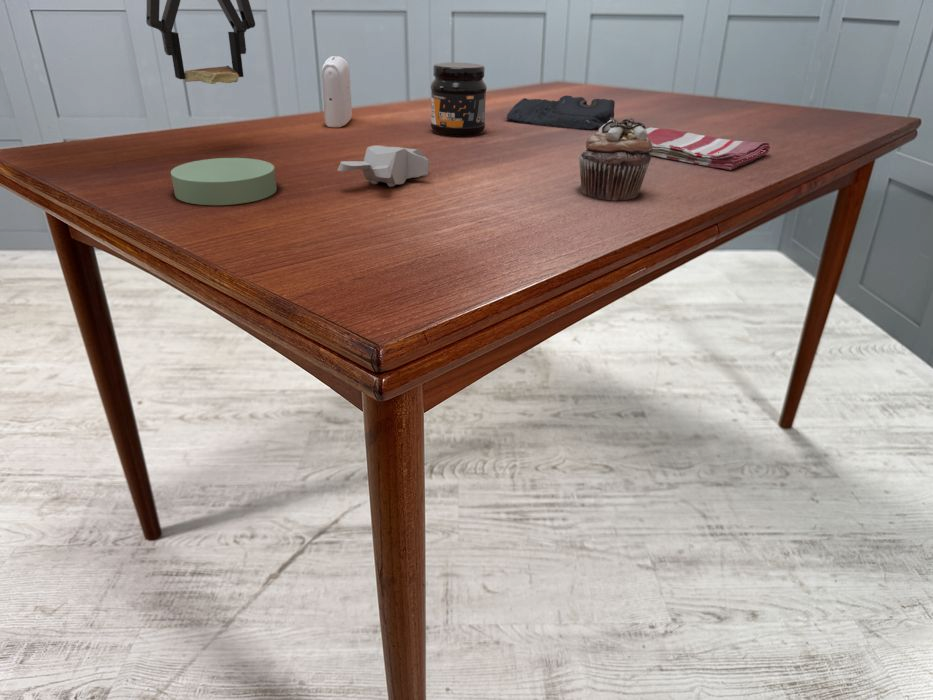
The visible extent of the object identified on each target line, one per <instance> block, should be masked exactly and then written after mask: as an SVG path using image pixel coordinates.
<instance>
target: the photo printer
mask: <svg viewBox="0 0 933 700" xmlns="http://www.w3.org/2000/svg"><path fill="white" fill-rule="evenodd" d="M320 74H321V86H322V88H321V89H322V101H323V116H324V125H325V126H327V127H328V128H341V127H344V126H346V125H347V124H348V123H349V122H350V121H351V120H352V118H353V108H352V107H353V106H352V88H351V87H352V86H351V71H350V65H349V63H348V61H347V60H346V59H345V58H343V57H342V56H341V55H337V56H336V55H331V56H330V57H328V58H326V60H325V61H324V63H323V65H322V67H321V73H320Z"/></svg>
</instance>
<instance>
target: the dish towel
mask: <svg viewBox="0 0 933 700" xmlns="http://www.w3.org/2000/svg"><path fill="white" fill-rule="evenodd" d="M645 130H646V131H647V138H648V139H649V140H650V142H651V144H652V150H651V151H650V152H649V153H650V155H651V157H658V158H661V159H667V160H672V161H677V162H681V163H682V162H683V163H688V164H691V165H692V164H693V165H698V166H699V165H700V166H705V167H710V168H715V169H722V170H724V171H732V170H734V169H737V168H738V167H741V166H743V165H746V164H749V163H751V162H753V161H755V160H757V159H759V158H762V157H763V156H766V155H767V154H769V152H770V148H771V146H770V143H769V142H768V141H761V142H759V141H758V142H756V141H747V140H746V141H745V140H734V139H728V138H727V139H726V138H719V137H715V136H712V135H711V136H710V135H703V134H697V133H692V132H689V131H683V130H676V129H671V128H661V127H659V128H657V127H651V126H650V127H649V126H648V127H646V128H645ZM768 149H769V150H768ZM761 150H766V151H765V152H763V151H761ZM718 152H719V153H718ZM761 152H763V153H761ZM759 153H760V154H759ZM756 154H758V155H756ZM752 156H753V157H752ZM747 158H748V159H747ZM742 160H743V161H742Z"/></svg>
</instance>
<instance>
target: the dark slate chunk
mask: <svg viewBox="0 0 933 700" xmlns="http://www.w3.org/2000/svg"><path fill="white" fill-rule="evenodd" d="M615 104H616V103H615V101H614V100H613V99H607V98H594V99H592V100H591V103H590V104H588V101H587V100H586V99H585V98H584V97H582V96H577V97H573V96H572V95H563V96H561V97H560V98H559V100H548V99H545V98H544V99H541V98H531V99H529V98H525V97H523V98H522V99H520V100H519V101H518V102H517V103H515V104H514V105H513V107H512V108H511V109H510V110H509V111H508V113H507V114H506V119H507V120H508V121H512V122H516V123H520V124H529V125H537V126H547V127H555V128H567V129H568V128H569V129H577V130H587V131H589V130H592V131H593V130H599V128H600V127H601V126H603V125H604V124H606V123H607V122H608V121H609V120H610V118H613V119H614V120H615V106H616V105H615Z"/></svg>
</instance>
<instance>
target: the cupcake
mask: <svg viewBox="0 0 933 700" xmlns="http://www.w3.org/2000/svg"><path fill="white" fill-rule="evenodd" d="M645 128H647V127H646V125H645V124H644V123H642V122H640V121H635V119H634V118H633V117H630V118H625V119H623V120H622V121H621V122H620V121H619V120H616V119H615V118H614V119H613V118H610V120H609V121H608V122H607V123H606V124H604V125H603V126H601V127H600V128H599V129H598V131H597V132H595V134H593V135H591V136H590V137H588V138H587V139H586V141H585V148H586V150H584V151H583V152H582V153H579V154H578V163H579V175H580V187H581V193H582V194H583V195H585V196H588V197H590V198H594V199H599V200H605V201H626V200H627V201H628V200H631V199H635V198H637V197H638V196H639V193H640V190H641V188H642V185H643V182H644V179H645V176H646V173H647V171H648V168H649V166H650V162H651V160H652V155H650V153H649V152H650V151H651V150H652V144H651V142H650V140H649V139H648V138H647V131H646V130H645Z"/></svg>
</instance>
